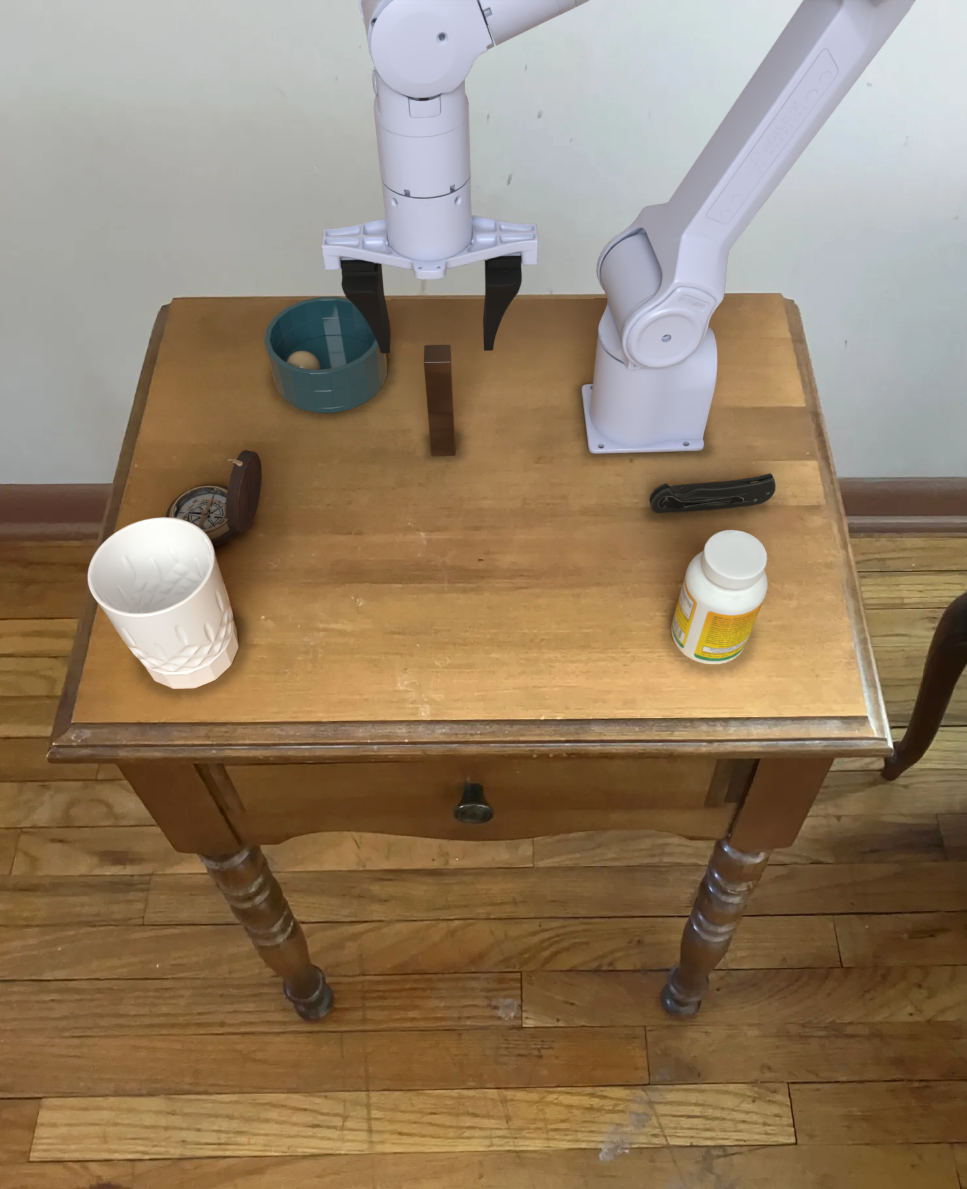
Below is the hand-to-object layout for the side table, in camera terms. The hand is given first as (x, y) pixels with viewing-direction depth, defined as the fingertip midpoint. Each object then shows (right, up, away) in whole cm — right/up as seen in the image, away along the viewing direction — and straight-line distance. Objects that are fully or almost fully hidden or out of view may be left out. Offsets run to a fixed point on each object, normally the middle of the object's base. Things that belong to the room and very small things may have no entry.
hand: (436, 343), depth 73 cm
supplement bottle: (+20, -22, -3) cm, 30 cm away
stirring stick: (0, -7, +8) cm, 10 cm away
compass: (-18, -14, +3) cm, 23 cm away
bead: (-12, +2, +10) cm, 16 cm away
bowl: (-10, +1, +14) cm, 17 cm away
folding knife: (+21, -12, +4) cm, 25 cm away
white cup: (-17, -23, -3) cm, 29 cm away
